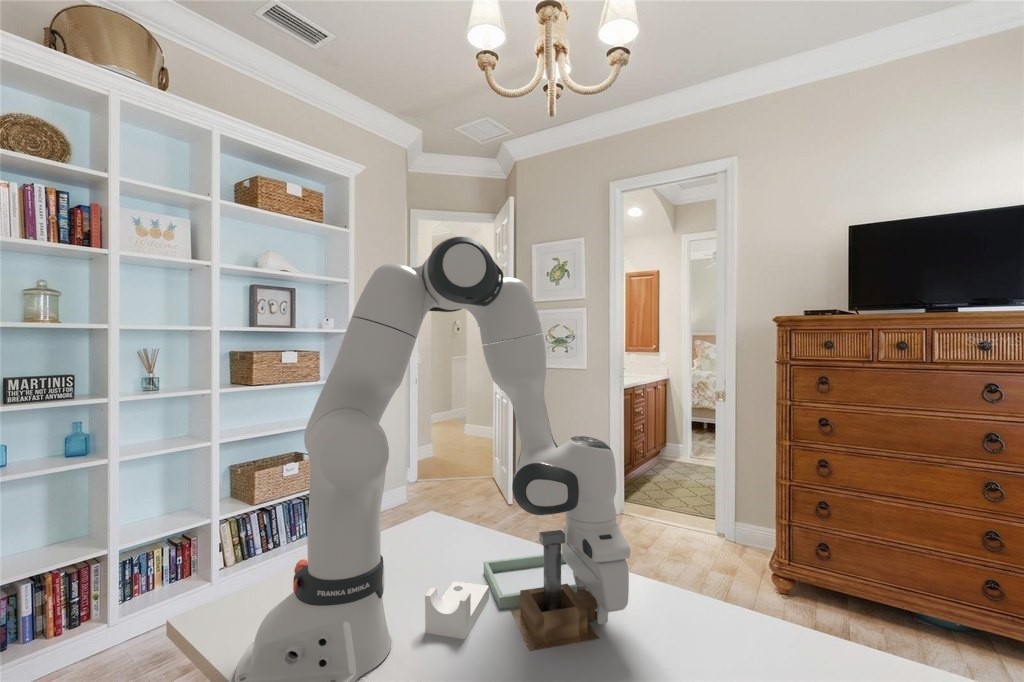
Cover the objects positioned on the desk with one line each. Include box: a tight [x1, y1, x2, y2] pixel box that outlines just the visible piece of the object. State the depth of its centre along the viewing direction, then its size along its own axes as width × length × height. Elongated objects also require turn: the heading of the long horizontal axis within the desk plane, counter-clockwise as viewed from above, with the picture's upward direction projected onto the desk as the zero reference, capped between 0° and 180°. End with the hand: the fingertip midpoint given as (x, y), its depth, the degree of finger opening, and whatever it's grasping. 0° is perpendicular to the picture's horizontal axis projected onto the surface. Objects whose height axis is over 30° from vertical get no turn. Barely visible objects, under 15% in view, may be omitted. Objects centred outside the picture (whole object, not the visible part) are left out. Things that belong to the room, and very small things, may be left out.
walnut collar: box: [519, 583, 598, 643], centre depth 83 cm, size 14×9×4 cm, turn 105°
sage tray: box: [483, 551, 589, 610], centre depth 97 cm, size 20×15×3 cm
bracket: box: [424, 580, 490, 640], centre depth 86 cm, size 13×7×8 cm, turn 165°
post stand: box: [509, 529, 600, 652], centre depth 83 cm, size 12×12×16 cm
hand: (591, 608), depth 85 cm, fingers open, 7 cm apart
